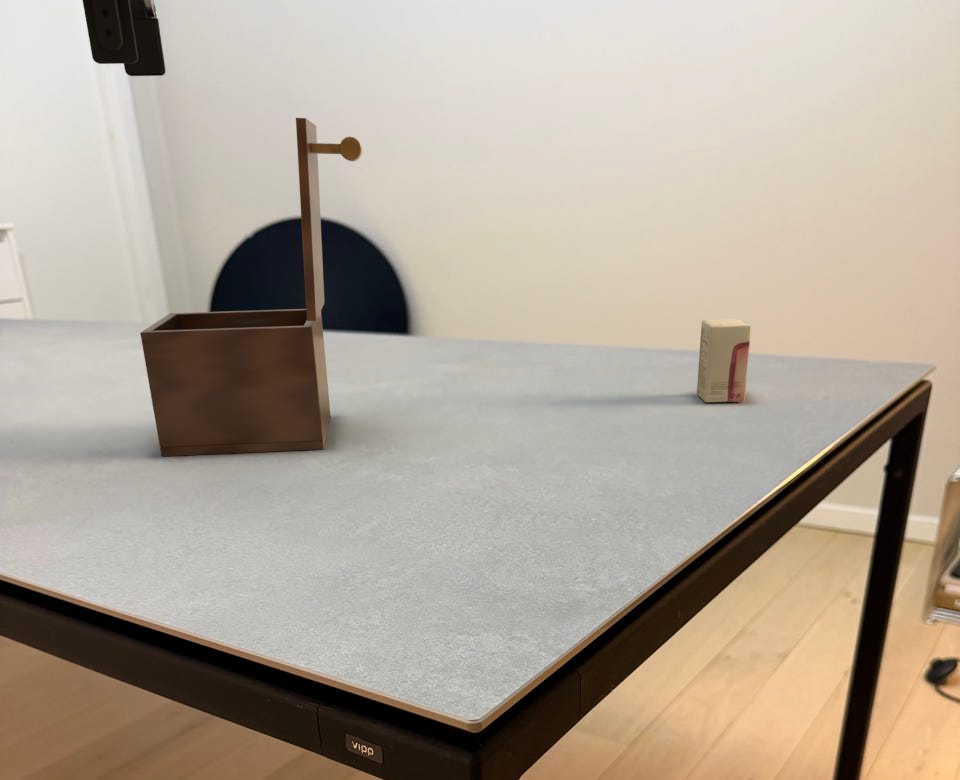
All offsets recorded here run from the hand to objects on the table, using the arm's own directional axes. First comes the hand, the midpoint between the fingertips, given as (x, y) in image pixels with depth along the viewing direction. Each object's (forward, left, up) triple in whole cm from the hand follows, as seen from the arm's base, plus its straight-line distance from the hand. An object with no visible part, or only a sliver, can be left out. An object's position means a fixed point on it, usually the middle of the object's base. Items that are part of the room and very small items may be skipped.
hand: (132, 69), depth 75 cm
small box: (+54, +12, -31) cm, 63 cm away
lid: (+12, +4, -11) cm, 17 cm away
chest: (+5, +4, -30) cm, 31 cm away
